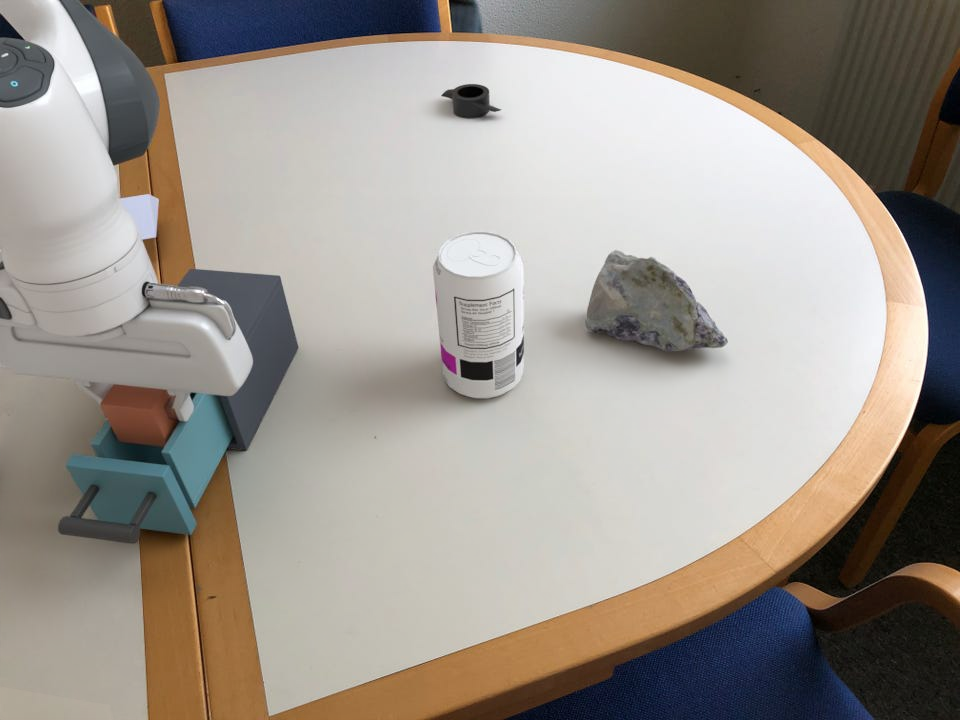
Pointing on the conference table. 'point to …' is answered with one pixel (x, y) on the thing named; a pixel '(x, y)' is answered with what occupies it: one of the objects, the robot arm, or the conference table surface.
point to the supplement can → (480, 313)
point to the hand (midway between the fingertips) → (149, 411)
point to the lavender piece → (143, 213)
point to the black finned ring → (470, 100)
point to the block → (138, 414)
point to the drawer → (148, 477)
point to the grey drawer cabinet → (253, 342)
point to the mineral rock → (649, 306)
